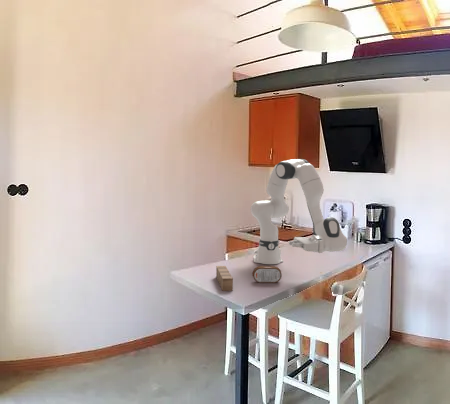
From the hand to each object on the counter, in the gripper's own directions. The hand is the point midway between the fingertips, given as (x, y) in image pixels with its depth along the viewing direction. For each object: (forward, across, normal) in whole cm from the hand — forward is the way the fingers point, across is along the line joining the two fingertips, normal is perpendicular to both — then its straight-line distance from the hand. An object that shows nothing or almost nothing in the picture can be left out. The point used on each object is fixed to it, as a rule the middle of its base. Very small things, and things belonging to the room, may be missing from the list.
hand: (290, 243), depth 201 cm
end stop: (+35, 0, +20) cm, 40 cm away
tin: (+12, 0, +20) cm, 24 cm away
